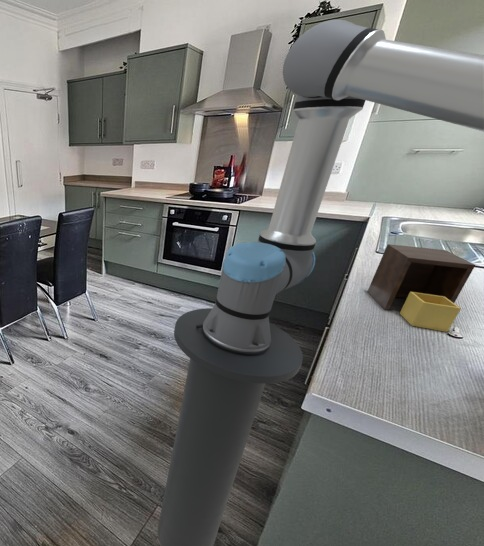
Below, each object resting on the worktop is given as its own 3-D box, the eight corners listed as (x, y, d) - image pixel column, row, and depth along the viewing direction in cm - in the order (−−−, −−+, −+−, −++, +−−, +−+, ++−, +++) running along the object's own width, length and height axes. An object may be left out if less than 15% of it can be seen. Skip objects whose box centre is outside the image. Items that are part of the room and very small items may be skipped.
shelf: (445, 319, 85) (475, 265, 79) (384, 309, 90) (408, 257, 84) (420, 299, 96) (445, 249, 90) (367, 291, 101) (387, 244, 94)
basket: (447, 332, 79) (461, 308, 77) (411, 325, 82) (423, 302, 79) (432, 318, 85) (444, 296, 83) (399, 313, 88) (410, 291, 85)
